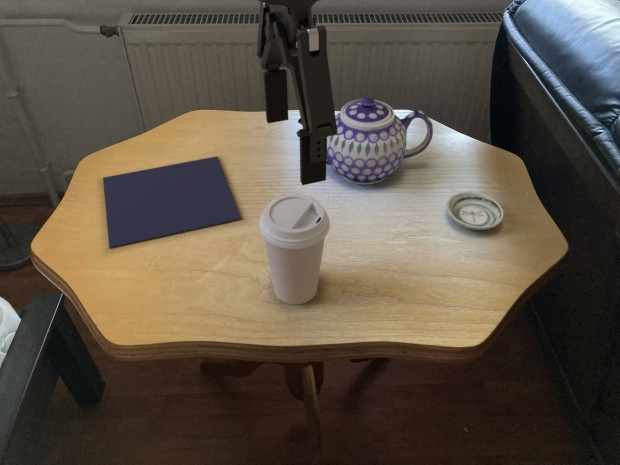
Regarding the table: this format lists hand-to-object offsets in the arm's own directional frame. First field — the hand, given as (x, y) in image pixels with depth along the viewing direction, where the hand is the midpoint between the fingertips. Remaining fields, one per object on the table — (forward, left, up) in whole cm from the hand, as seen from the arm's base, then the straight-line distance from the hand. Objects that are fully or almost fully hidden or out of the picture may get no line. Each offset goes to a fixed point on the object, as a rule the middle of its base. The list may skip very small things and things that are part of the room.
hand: (293, 148), depth 61 cm
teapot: (+22, +25, -25) cm, 42 cm away
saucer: (+34, +5, -25) cm, 42 cm away
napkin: (-15, +28, -25) cm, 40 cm away
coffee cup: (0, 0, -25) cm, 25 cm away
